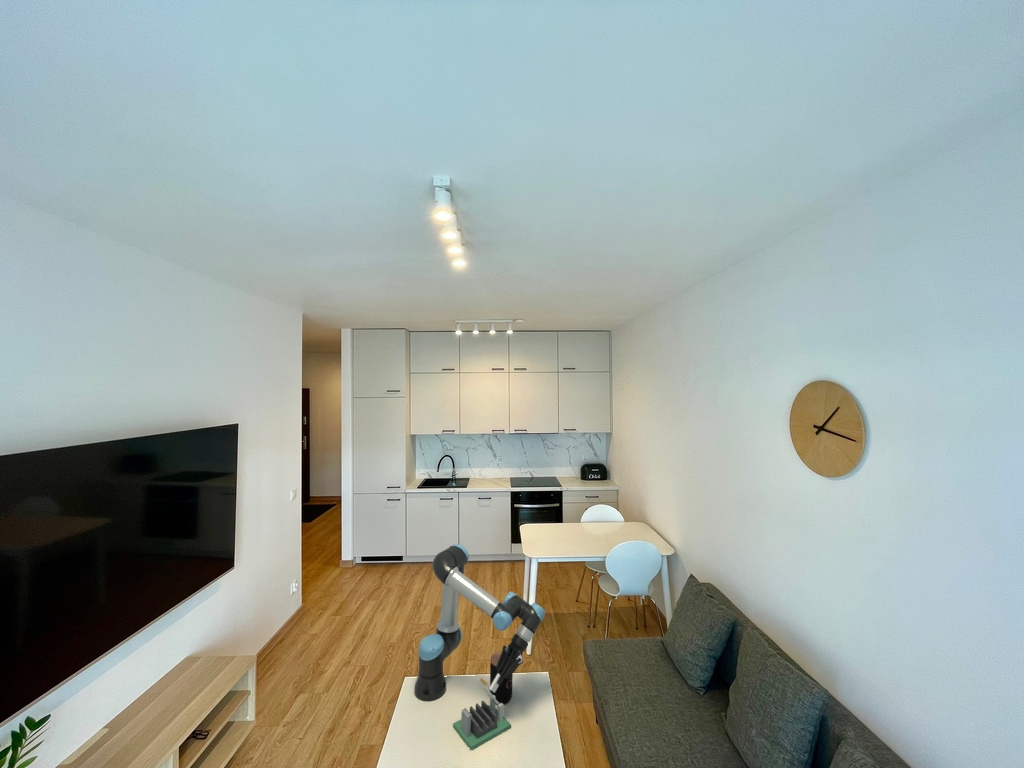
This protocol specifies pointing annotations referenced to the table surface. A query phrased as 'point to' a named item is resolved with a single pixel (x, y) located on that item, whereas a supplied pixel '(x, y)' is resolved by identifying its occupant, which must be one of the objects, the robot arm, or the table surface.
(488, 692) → the silver flat bar
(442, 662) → the robot arm
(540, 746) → the table surface
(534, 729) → the table surface
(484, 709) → the cpu board
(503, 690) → the coffee jar
